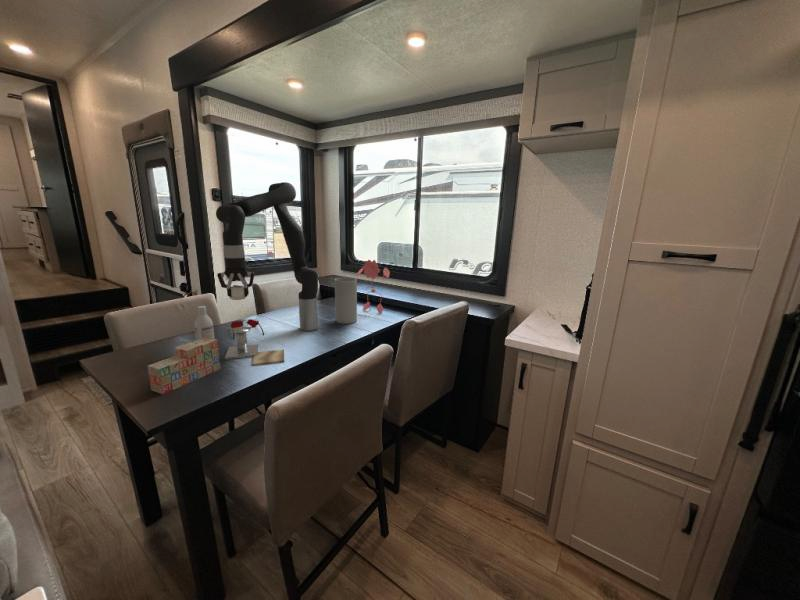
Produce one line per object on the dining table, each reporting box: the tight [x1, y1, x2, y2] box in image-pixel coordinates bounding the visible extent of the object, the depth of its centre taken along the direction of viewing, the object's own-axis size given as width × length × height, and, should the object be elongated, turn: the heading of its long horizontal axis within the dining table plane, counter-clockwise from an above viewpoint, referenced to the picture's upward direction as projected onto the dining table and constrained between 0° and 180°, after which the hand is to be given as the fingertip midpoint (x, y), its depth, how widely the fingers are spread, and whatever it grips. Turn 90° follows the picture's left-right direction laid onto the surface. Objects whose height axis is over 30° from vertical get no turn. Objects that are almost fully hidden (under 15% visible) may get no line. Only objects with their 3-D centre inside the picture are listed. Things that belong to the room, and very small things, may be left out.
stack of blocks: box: [147, 338, 222, 395], centre depth 113 cm, size 21×6×12 cm, turn 157°
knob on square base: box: [224, 326, 259, 361], centre depth 136 cm, size 12×12×11 cm
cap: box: [229, 284, 246, 301], centre depth 131 cm, size 5×7×6 cm
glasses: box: [230, 318, 265, 340], centre depth 163 cm, size 14×16×5 cm
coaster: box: [251, 348, 285, 366], centre depth 133 cm, size 12×12×1 cm
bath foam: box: [193, 305, 216, 341], centre depth 137 cm, size 7×7×20 cm
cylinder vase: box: [334, 277, 358, 325], centre depth 184 cm, size 12×12×25 cm
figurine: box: [355, 259, 391, 318], centre depth 199 cm, size 15×26×35 cm, turn 61°
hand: (238, 296), depth 132 cm, fingers closed on cap, 5 cm apart
